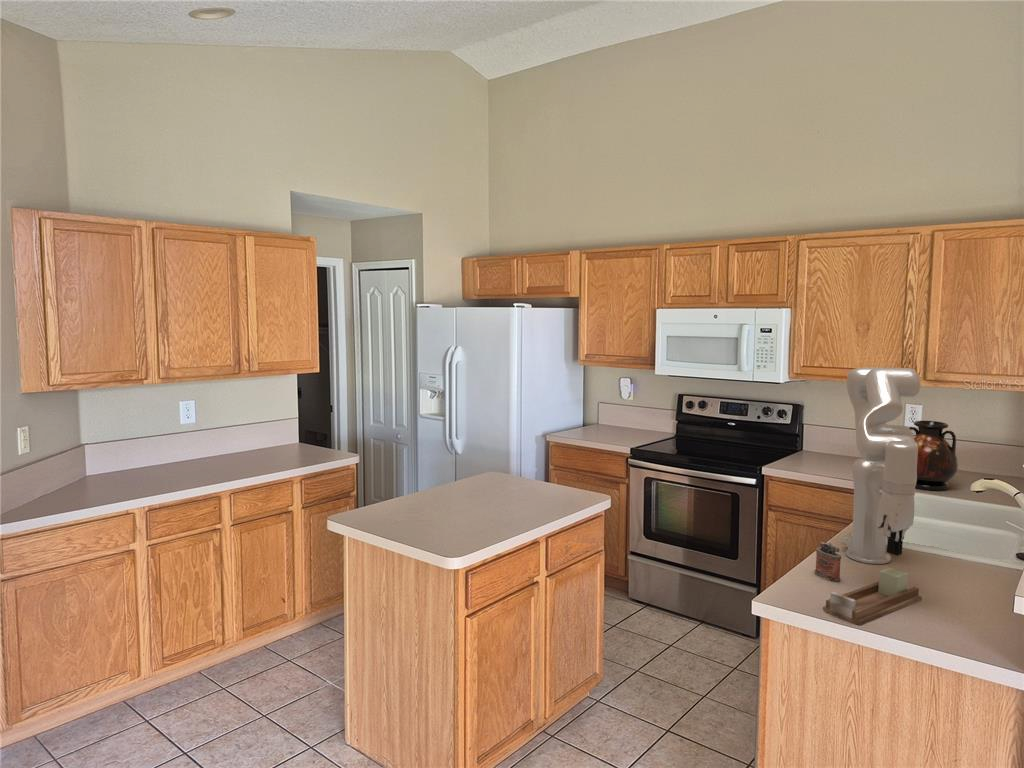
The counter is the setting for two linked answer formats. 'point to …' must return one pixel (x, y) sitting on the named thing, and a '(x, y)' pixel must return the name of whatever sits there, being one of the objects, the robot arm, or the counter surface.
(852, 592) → the chute
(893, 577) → the block
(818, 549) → the lighter
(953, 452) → the amphora vase
